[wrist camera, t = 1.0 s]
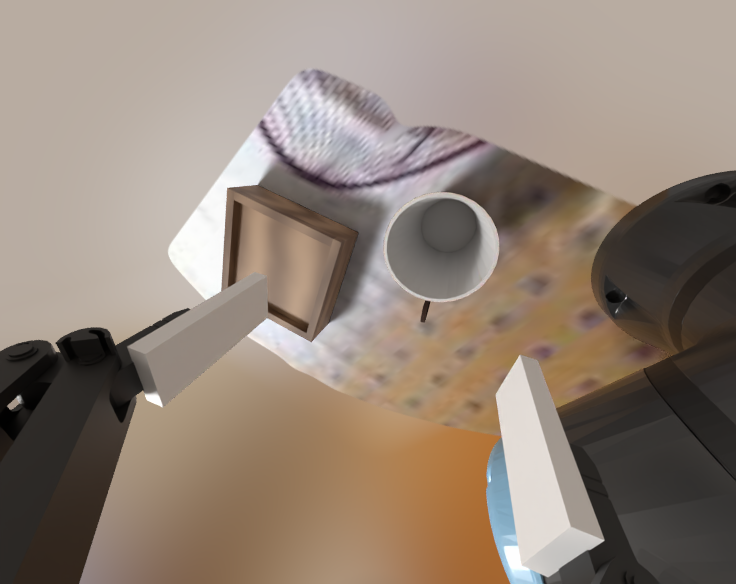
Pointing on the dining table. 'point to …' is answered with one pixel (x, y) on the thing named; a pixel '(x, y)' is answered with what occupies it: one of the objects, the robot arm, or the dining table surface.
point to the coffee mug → (441, 247)
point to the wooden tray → (286, 256)
